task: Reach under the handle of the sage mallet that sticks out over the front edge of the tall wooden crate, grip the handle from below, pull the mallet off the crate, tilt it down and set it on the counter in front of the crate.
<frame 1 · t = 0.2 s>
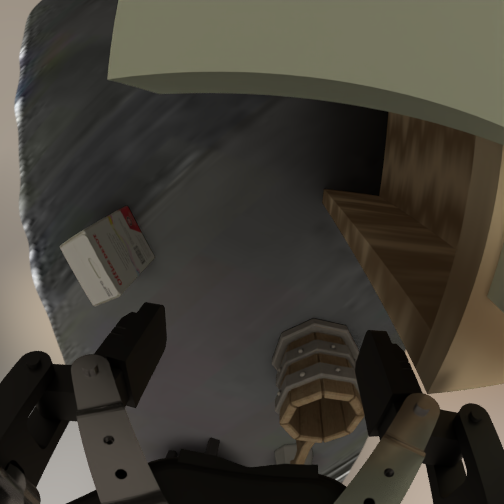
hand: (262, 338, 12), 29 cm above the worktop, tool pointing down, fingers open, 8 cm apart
tankard: (307, 369, 49), on the worktop
ink box: (129, 237, 43), on the worktop
coffee maker: (294, 455, 58), on the worktop
wooden crate: (365, 129, 35), on the worktop
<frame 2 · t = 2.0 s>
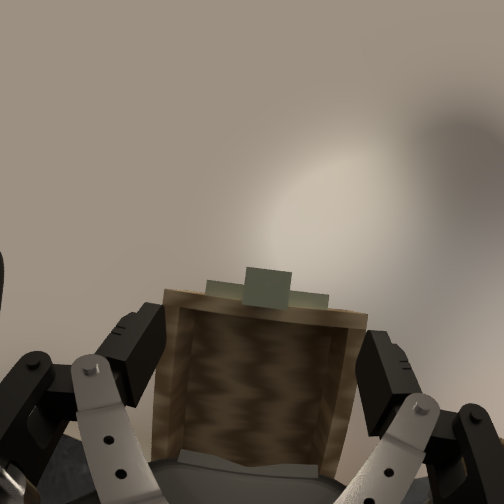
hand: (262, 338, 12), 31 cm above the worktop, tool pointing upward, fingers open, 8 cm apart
sage mallet: (266, 302, 34), point 32 cm above the worktop, touching wooden crate
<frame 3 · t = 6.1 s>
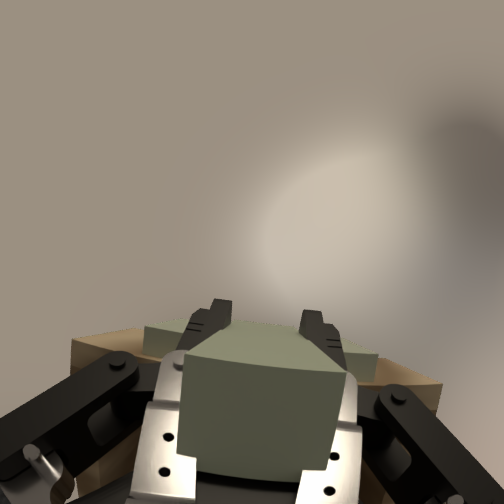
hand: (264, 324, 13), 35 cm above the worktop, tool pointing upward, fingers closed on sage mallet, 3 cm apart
sage mallet: (259, 359, 18), point 32 cm above the worktop, touching gripper, wooden crate
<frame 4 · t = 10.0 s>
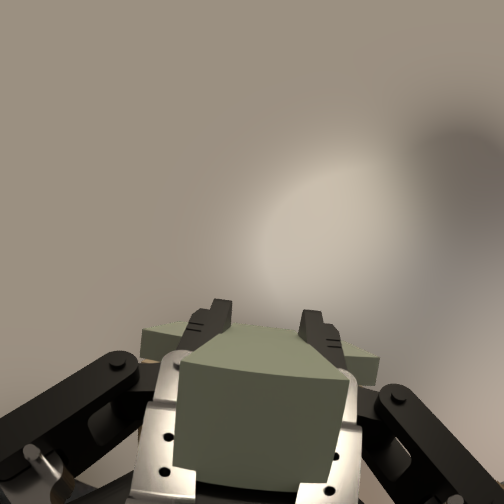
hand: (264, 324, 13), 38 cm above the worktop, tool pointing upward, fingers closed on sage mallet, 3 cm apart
sage mallet: (258, 363, 18), point 35 cm above the worktop, touching gripper
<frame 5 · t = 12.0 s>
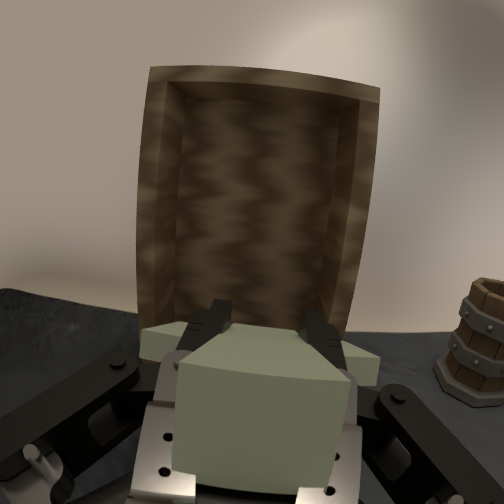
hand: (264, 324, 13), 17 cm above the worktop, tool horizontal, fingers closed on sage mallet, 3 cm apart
tankard: (489, 381, 33), on the worktop
sage mallet: (258, 363, 18), point 12 cm above the worktop, tilted 24°, touching gripper
wooden crate: (236, 373, 36), on the worktop
when the fingers open (9 cm above the worktop, at t = 13.7 s): sage mallet drops 4 cm, on the worktop.
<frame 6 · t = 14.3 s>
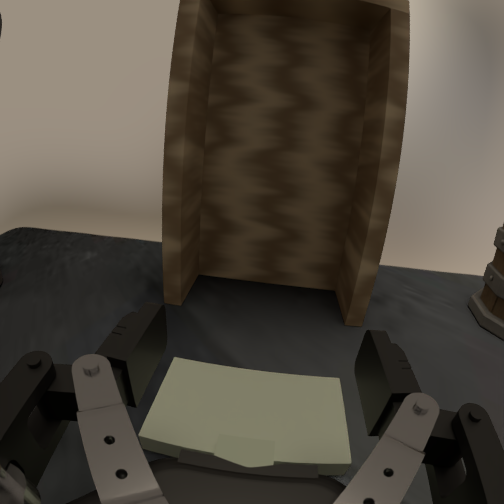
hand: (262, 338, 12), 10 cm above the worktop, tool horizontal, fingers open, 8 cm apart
sage mallet: (249, 423, 18), on the worktop
wooden crate: (265, 294, 35), on the worktop
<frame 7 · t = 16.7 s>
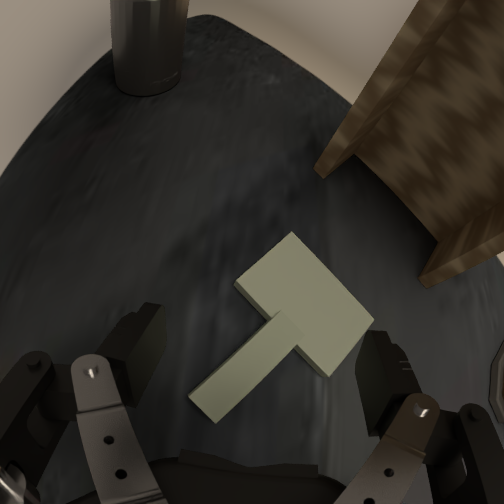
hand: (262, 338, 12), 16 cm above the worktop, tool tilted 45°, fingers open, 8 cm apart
sage mallet: (304, 305, 30), on the worktop
wooden crate: (389, 208, 37), on the worktop
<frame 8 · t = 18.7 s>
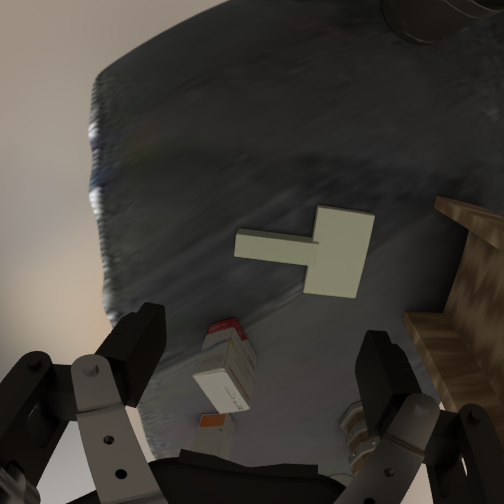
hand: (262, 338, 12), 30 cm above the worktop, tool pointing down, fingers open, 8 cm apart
tankard: (363, 425, 55), on the worktop
ink box: (233, 340, 49), on the worktop
coffee maker: (337, 481, 65), on the worktop
skincare box: (218, 417, 57), on the worktop
sage mallet: (336, 251, 42), on the worktop
wooden crate: (444, 265, 41), on the worktop
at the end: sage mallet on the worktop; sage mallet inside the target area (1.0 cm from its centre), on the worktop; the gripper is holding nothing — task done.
